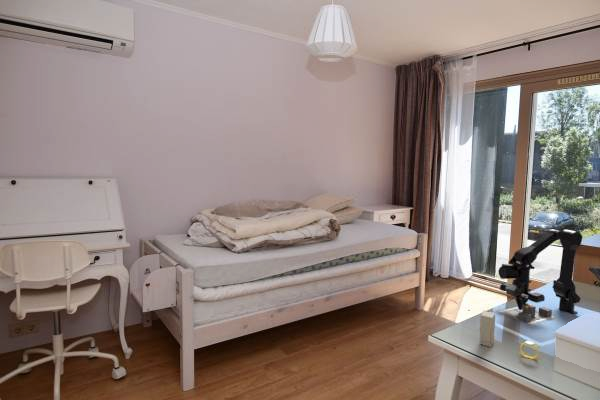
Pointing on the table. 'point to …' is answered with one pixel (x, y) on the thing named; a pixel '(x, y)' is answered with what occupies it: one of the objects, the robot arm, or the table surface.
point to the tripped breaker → (529, 309)
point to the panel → (539, 316)
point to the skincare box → (487, 328)
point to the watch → (529, 345)
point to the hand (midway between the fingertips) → (520, 309)
